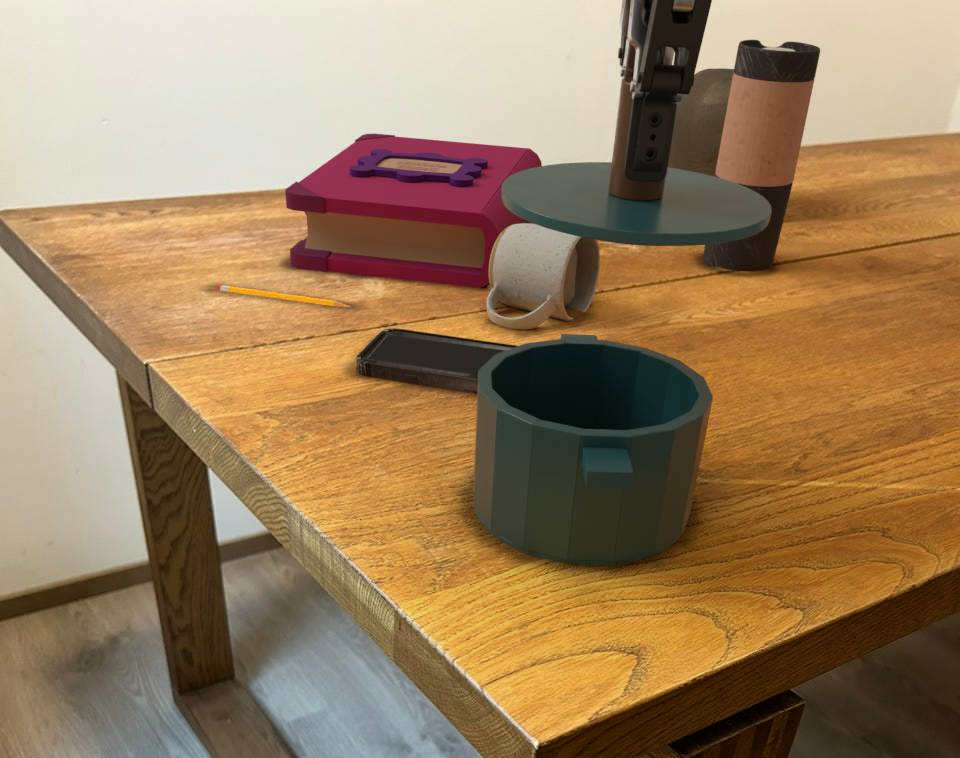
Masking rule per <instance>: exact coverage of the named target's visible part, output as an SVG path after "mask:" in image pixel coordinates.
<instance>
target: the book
mask: <svg viewBox="0 0 960 758" xmlns="http://www.w3.org/2000/svg"><path fill="white" fill-rule="evenodd" d="M542 164H543V163H542V161H541V159H540V156H539V155H538V153H536V152H535V151H534V150H533V149H532V148H529V147H517V146H508V145H507V146H505V145H495V144H485V143H473V142H461V141H449V140H441V139H440V140H439V139H428V138H417V137H404V136H396V135H395V134H385V133H384V134H383V133H365V134H362V135H360V136H359V137H358V138H356V139H355V140H354V142H353V143H351V144H350V145H349V146H347V147H346V148H344V149H342V150H341V152H339V153H338V154H336V155H335V156H333V157H332V158H330V159H329V160H328V161H327V162H325V163H324V164H322V165H321V166H319V167H318V168H317V169H315V170H314V171H312V172H311V173H310V174H308V175H307V176H305V177H304V178H302V179H301V180H300V181H295V182H294V183H292V184H290V185H289V186H288V187H287V188H285V192H284V193H285V205H286V209H288V210H291V211H296V212H304V214H305V216H306V226H307V227H306V228H307V235H306V237H305V238H304V239H300V240H299V241H298V242H297V243H296V244H294V246H292V247H291V248H290V249H289V254H290V255H289V257H290V267H291V268H295V269H297V270H305V271H315V272H324V273H327V272H329V273H339V274H348V275H357V276H358V275H359V276H366V277H377V278H385V279H388V278H389V279H394V280H395V279H396V280H405V281H412V282H413V281H414V282H422V283H423V282H424V283H432V284H433V283H434V284H441V285H451V286H459V287H460V286H461V287H470V288H478V289H481V288H483V287H485V286H487V285H490V283H489V260H490V255H491V252H492V248H493V246H494V243H495V241H496V240H497V238H498V236H499V235H500V233H501V232H502V231H503V230H504V229H505V228H506V227H508V226H510V225H514V224H521V223H528V221H527V220H524V219H522V218H520V217H519V216H517V215H515V214H513V213H512V212H511V211H509V210H508V209H507V208H506V207H505V206H504V204H503V203H502V199H501V189H502V184H503V182H504V181H505V180H506V179H507V178H508V177H510V176H511V175H513V174H515V173H518V172H520V171H524V170H527V169H531V168H535V167H540V166H543V165H542Z"/></svg>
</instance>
